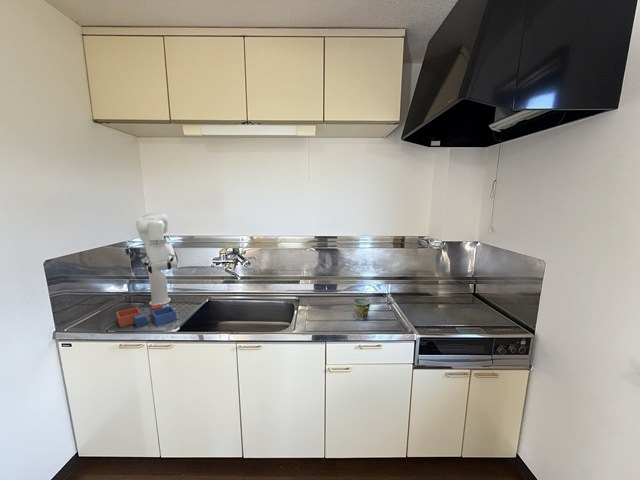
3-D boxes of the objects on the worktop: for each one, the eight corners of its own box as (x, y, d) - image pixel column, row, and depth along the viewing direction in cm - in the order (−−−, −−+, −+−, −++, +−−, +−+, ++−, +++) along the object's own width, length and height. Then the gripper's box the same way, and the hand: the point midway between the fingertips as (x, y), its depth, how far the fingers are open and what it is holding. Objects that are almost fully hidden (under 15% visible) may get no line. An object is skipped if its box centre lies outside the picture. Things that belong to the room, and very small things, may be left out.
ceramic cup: (349, 315, 163) (350, 299, 161) (364, 312, 166) (364, 297, 165) (360, 324, 151) (361, 308, 149) (376, 321, 154) (376, 305, 153)
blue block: (134, 324, 152) (133, 316, 151) (145, 321, 155) (144, 313, 154) (136, 327, 148) (135, 319, 147) (147, 324, 152) (146, 316, 151)
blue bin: (152, 319, 157) (151, 310, 156) (171, 314, 164) (170, 305, 163) (156, 325, 150) (155, 316, 149) (176, 320, 157) (175, 311, 156)
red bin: (117, 321, 156) (116, 312, 155) (138, 315, 163) (137, 306, 162) (120, 327, 148) (118, 318, 147) (141, 321, 155) (140, 312, 154)
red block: (151, 314, 164) (150, 306, 163) (161, 311, 168) (160, 304, 167) (153, 316, 161) (152, 309, 160) (163, 314, 164) (162, 306, 163)
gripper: (171, 239, 165) (174, 267, 168) (137, 243, 153) (141, 272, 156) (175, 241, 160) (178, 269, 163) (140, 245, 148) (144, 275, 151)
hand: (160, 271), depth 159 cm, fingers open, 9 cm apart
